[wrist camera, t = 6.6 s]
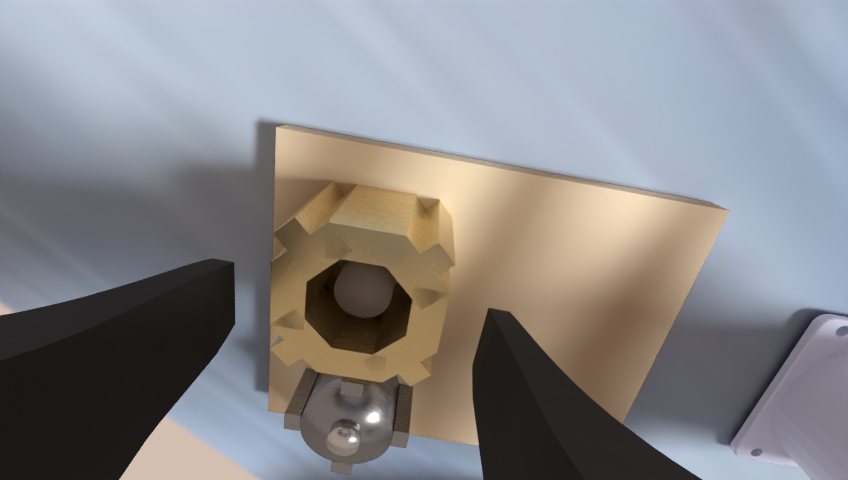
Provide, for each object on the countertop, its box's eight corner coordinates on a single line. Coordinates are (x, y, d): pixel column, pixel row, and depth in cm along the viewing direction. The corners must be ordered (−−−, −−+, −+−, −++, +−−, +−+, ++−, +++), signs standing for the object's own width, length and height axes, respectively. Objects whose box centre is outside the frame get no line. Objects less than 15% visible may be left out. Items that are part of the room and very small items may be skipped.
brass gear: (456, 201, 14) (461, 245, 10) (431, 317, 16) (428, 390, 12) (317, 176, 14) (271, 212, 10) (309, 297, 16) (268, 364, 12)
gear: (421, 349, 16) (416, 406, 14) (403, 431, 18) (396, 496, 15) (308, 330, 16) (280, 384, 13) (302, 415, 18) (276, 477, 15)
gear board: (711, 202, 15) (802, 243, 11) (593, 447, 20) (629, 533, 16) (286, 124, 14) (232, 139, 10) (276, 395, 19) (237, 470, 15)
